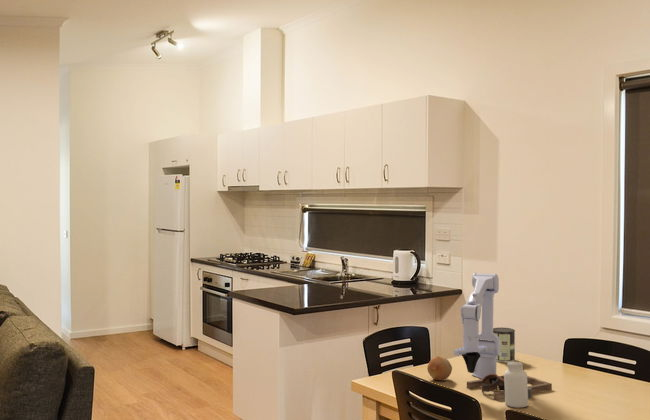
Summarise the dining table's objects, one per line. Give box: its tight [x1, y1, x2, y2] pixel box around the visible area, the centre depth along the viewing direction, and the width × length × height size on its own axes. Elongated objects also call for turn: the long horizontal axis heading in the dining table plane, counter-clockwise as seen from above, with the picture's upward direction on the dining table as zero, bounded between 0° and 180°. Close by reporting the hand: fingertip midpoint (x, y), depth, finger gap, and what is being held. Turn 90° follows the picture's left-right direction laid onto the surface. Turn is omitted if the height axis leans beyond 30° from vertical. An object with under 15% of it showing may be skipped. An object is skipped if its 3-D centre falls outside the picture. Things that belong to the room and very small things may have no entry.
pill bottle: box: [503, 361, 529, 409], centre depth 220 cm, size 8×8×15 cm
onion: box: [427, 355, 453, 381], centre depth 252 cm, size 10×10×10 cm
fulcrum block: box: [528, 387, 532, 399], centre depth 230 cm, size 3×3×3 cm
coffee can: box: [493, 327, 516, 363], centre depth 284 cm, size 10×10×14 cm
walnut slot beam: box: [466, 375, 553, 401], centre depth 239 cm, size 17×28×2 cm, turn 116°
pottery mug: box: [480, 373, 505, 394], centre depth 235 cm, size 12×10×8 cm
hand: (470, 372), depth 231 cm, fingers closed
